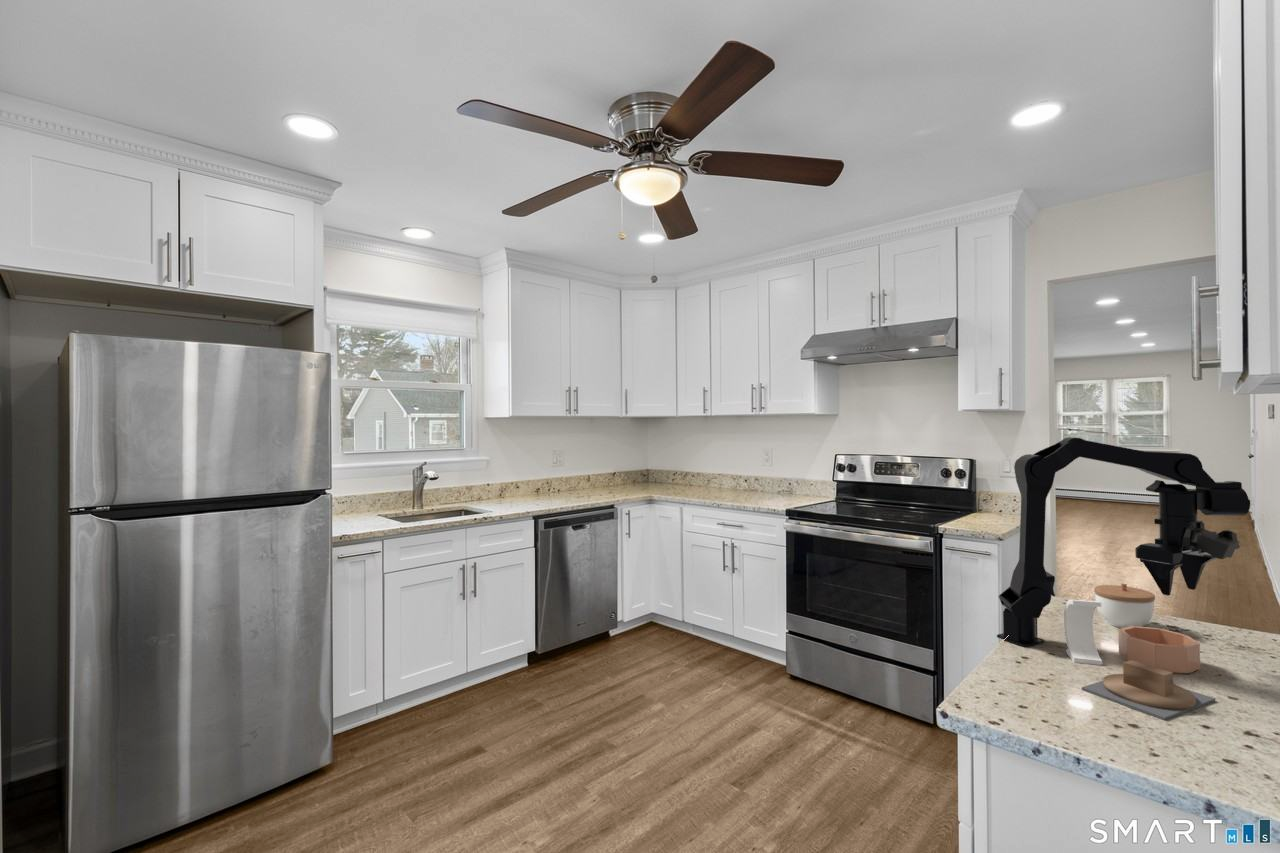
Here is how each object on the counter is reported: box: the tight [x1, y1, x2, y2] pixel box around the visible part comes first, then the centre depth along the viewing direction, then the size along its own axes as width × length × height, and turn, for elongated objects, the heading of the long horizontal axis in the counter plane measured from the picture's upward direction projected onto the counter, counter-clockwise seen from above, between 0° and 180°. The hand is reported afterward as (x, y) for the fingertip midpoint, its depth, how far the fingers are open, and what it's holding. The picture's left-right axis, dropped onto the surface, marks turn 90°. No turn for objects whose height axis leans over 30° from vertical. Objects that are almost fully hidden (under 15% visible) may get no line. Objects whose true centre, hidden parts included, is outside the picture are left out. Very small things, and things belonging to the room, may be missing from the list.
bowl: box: [1117, 626, 1201, 674], centre depth 115 cm, size 11×11×5 cm
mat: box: [1081, 680, 1216, 721], centre depth 102 cm, size 15×12×1 cm
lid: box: [1102, 660, 1196, 710], centre depth 102 cm, size 12×12×4 cm
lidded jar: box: [1094, 583, 1156, 629], centre depth 136 cm, size 11×11×9 cm
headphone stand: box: [1063, 598, 1103, 666], centre depth 118 cm, size 5×6×12 cm
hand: (1179, 592), depth 120 cm, fingers open, 9 cm apart
